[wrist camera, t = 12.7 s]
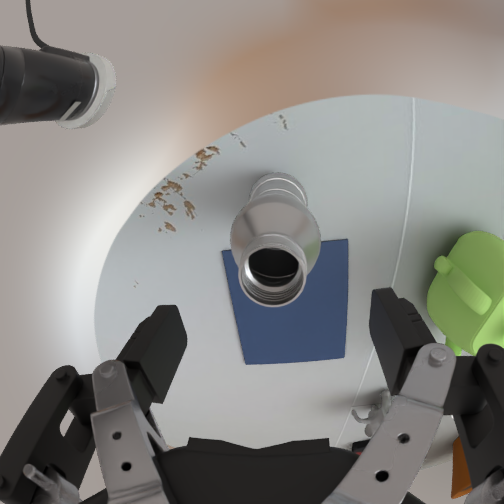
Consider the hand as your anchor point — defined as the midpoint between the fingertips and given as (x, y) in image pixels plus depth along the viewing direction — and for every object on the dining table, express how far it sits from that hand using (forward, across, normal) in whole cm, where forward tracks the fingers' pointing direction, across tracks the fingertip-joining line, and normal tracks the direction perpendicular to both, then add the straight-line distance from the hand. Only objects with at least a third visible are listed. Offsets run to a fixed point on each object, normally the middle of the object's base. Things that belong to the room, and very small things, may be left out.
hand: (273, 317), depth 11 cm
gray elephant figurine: (+24, -16, +40) cm, 49 cm away
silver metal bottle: (+24, 0, 0) cm, 24 cm away
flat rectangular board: (+24, 0, +16) cm, 29 cm away
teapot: (+24, -28, +17) cm, 40 cm away
